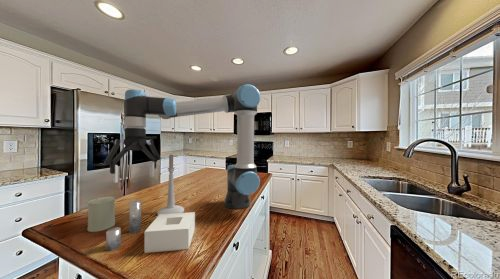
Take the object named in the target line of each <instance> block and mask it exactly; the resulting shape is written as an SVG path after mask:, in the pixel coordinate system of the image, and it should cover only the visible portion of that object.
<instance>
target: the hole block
mask: <svg viewBox="0 0 500 279" xmlns="http://www.w3.org/2000/svg"><path fill="white" fill-rule="evenodd" d="M195 230H196V212H195V211H193V212H192V211H191V212H183V213H172V214H159V215H157V217H156V218H155V219H154V220H153V221H152V222H151V224H150V225H149V226H148V227H147V228H146V229H145V231H144V253H145V254H147V253H148V254H149V253H156V252H157V253H158V252H170V251H172V252H173V251H181V250H183V251H184V250H189V248H190V246H191V242H192V239H193V236H194V233H195Z"/></svg>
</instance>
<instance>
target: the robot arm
mask: <svg viewBox="0 0 500 279" xmlns="http://www.w3.org/2000/svg"><path fill="white" fill-rule="evenodd" d="M261 98H262V96H261V93H260V90H259V89H258V88H257V87H256V86H254V85H253V84H247V83H246V84H243V85H240V86H239V87H238V88H237V90H235V92H232V93H231V94H228V95H227V94H226V95H223V96H222V97H216V98H205V99H194V100H185V101H177V100H176V99H175V98H171V97H157V96H155V97H154V96H148V95H147V93H146V91H144V90H139V89H135V88H134V89H133V88H132V89H131V88H130V89H127V90H125V92H124V100H123V101H124V127H125V128H124V131H123V132H124V139H118V138H117V139H114V143H113V146H112V148H111V149H110V150H109V152H108V154H107V155H106V158H104V161H103V163H104V164H105V165H109V173H110V174H111V175H112V182H113V183H116V184H117V183H118V182H119V181H118V180H119V172H118V171H119V166H118V164H117V163H118V162H119V161H120V160H121V159H122V158H123V157H124V156H125V155H126V154H127V153H128V152H129V151H141V152H143V153H144V154H145V155H146V156H147V157H148V158H149V159H150V161H149V177H150V178H151V177H153V178H154V177H155V169H157V162H158V161H161V159H162V157H161V154H159V152H158V150H157V148H156V146H155V141H154V139H146V138H147V136H146V134H147V130H146V127H147V115H153V116H154V115H155V116H158V117H159V118H161V119H163V120H170V119H171V118H181V117H189V116H195V115H196V116H197V115H205V114H210V113H211V114H212V113H220V112H225V113H227V114H228V113H234V114H235V115H236V116H237V117H236V120H237V122H236V123H237V124H236V133H237V134H236V163H235V164H229V165H228V166H227V170H226V172H227V173H226V175H227V184H226V185H227V190H226V195H225V197H224V200H223V203H224V204H223V205H224V207H225V208H228V209H232V210H239V209H240V210H241V209H246V208H249V206H251V198H250V195H252V194H254V193H255V192H256V191H258V189H259V187H260V184H261V179H260V176H259V175H258V174H257V171H258V169H257V165H256V164H255V163H254V162H255V161H254V160H255V158H254V157H255V116H256V115H257V114H258V105H259V103H260V101H261ZM122 144H123V145H124V147H123V148H122V149H121V150H120V152H119V153H117V151H118V150H119V148H120V146H121V145H122ZM146 144H147V145H148V147H149V149H150V150H149V149H148V148H147V147H146ZM151 152H152V153H151ZM116 153H117V154H116ZM115 155H116V156H115ZM114 156H115V157H114Z"/></svg>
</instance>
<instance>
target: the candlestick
mask: <svg viewBox="0 0 500 279" xmlns="http://www.w3.org/2000/svg"><path fill="white" fill-rule="evenodd" d="M167 169H168V173H169V174H168V186H167V188H168V189H167V204H166V205H167V206H163V207H162V208H160V209H158V211H157V213H156V215H157V216H158V215H159V214H172V213H185V208H184V207H183V206H181V205H177V204H176V203H175V201H176V200H175V184H174V173H173V172H174V171H175V167H174V154H169V155H168V167H167Z"/></svg>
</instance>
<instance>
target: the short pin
mask: <svg viewBox="0 0 500 279" xmlns="http://www.w3.org/2000/svg"><path fill="white" fill-rule="evenodd" d="M105 231H106V232H105V235H106V236H105V237H106V240H105V242H106V244H105V248H106V249H105V250H106V251H108V252H111V251H115V250H117V249H120V247H121V246H122V245H121V244H122V243H121V242H122V227H120V226H119V227H118V226H117V227H115V226H114V227H111V228H108V229H106V230H105Z"/></svg>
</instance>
